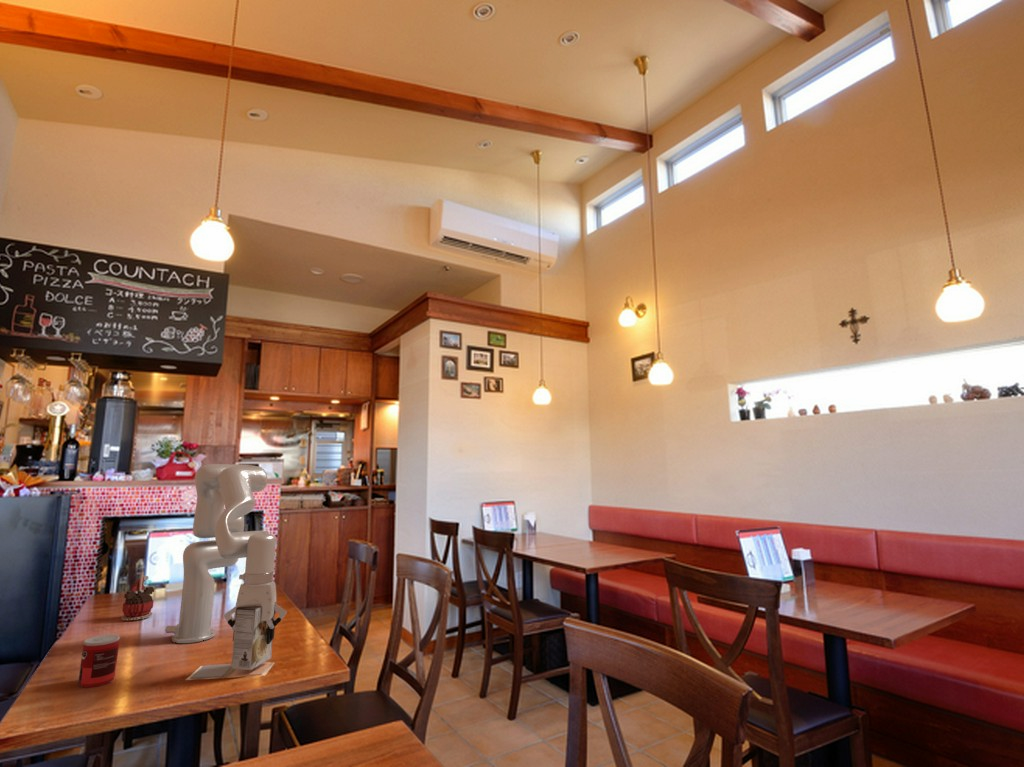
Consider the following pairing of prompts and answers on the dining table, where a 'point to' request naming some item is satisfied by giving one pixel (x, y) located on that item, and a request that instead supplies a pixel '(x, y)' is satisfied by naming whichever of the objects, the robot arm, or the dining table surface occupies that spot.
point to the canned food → (99, 660)
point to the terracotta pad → (256, 671)
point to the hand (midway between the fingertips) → (253, 642)
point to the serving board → (231, 673)
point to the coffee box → (250, 639)
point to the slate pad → (212, 671)
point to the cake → (138, 600)
